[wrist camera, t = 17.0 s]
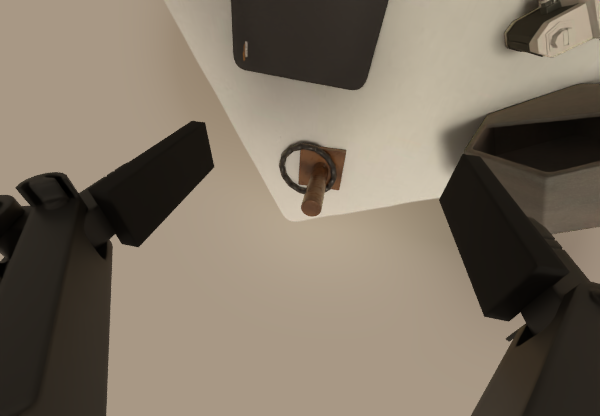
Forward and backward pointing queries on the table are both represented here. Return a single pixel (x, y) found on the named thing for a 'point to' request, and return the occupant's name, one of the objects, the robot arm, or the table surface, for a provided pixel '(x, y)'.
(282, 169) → the ring
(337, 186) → the stand
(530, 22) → the camera
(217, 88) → the table surface
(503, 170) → the planter
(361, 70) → the mouse pad
